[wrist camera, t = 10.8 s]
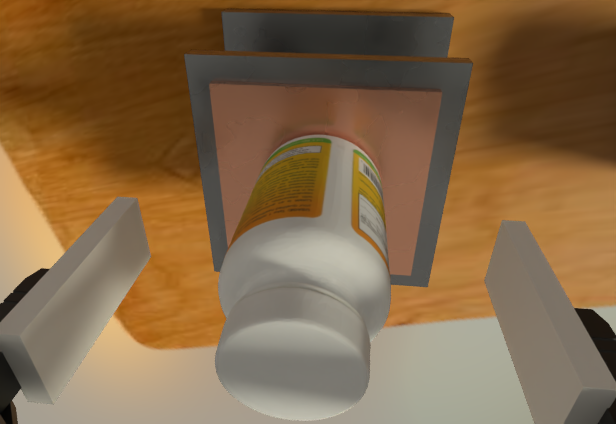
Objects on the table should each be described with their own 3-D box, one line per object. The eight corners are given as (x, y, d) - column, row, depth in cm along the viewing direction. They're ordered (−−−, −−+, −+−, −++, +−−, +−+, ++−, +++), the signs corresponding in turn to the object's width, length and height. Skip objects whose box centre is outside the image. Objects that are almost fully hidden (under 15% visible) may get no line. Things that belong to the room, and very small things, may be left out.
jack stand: (449, 13, 23) (492, 52, 16) (418, 206, 30) (437, 300, 22) (227, 8, 24) (165, 42, 17) (243, 196, 31) (204, 283, 23)
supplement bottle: (245, 214, 20) (167, 402, 12) (282, 111, 17) (213, 266, 9) (351, 253, 21) (345, 458, 13) (404, 159, 18) (440, 346, 10)
